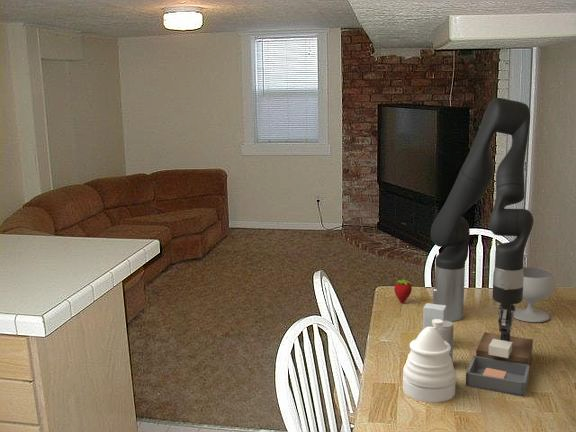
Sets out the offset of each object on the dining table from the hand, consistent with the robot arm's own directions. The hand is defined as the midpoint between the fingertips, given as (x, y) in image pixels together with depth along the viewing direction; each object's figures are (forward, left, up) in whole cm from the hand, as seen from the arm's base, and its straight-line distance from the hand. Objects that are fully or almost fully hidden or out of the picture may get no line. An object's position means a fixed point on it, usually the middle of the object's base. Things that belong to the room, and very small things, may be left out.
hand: (505, 344), depth 167 cm
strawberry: (-38, +35, -6) cm, 52 cm away
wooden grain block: (0, +2, -6) cm, 6 cm away
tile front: (-1, -13, -3) cm, 13 cm away
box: (0, -11, -6) cm, 12 cm away
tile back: (-1, -4, -1) cm, 4 cm away
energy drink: (-15, -7, -6) cm, 18 cm away
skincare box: (-20, +5, -6) cm, 22 cm away
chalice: (+3, +39, -6) cm, 40 cm away
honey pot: (-15, -22, -6) cm, 27 cm away
